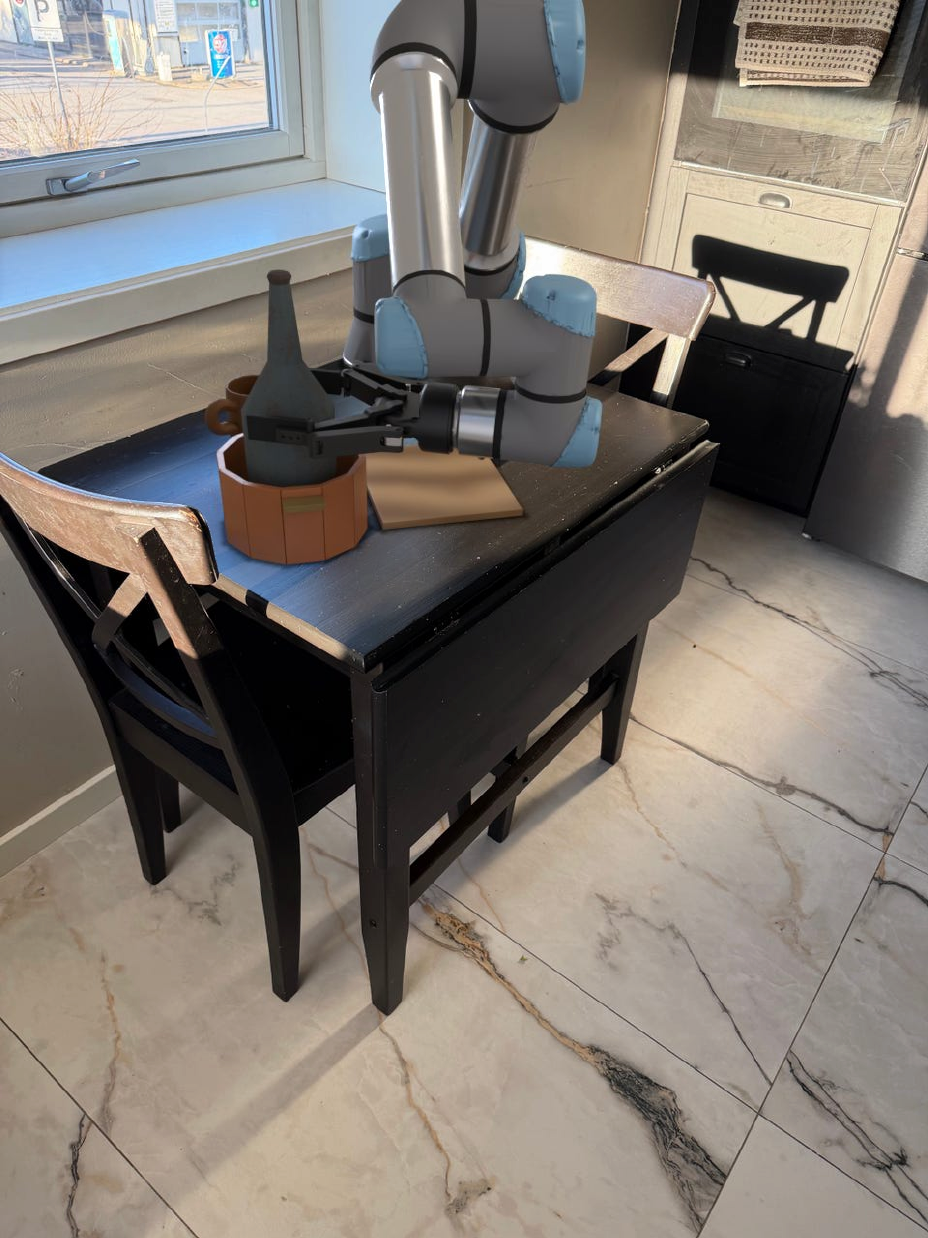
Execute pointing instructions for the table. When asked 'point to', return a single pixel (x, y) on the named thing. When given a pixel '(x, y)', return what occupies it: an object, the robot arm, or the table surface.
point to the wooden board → (435, 488)
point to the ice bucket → (292, 510)
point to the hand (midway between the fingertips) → (267, 400)
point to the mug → (230, 406)
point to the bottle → (285, 399)
